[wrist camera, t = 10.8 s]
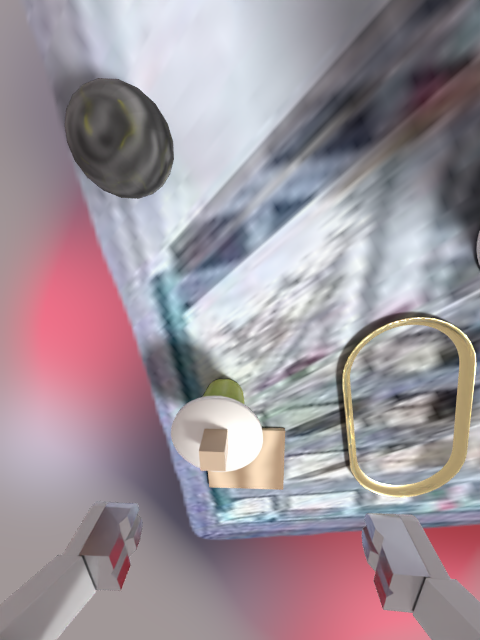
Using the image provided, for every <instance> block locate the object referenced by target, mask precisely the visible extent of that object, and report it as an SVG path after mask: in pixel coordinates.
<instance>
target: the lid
mask: <svg viewBox="0 0 480 640" xmlns="http://www.w3.org/2000/svg"><path fill="white" fill-rule="evenodd" d="M171 437H172V442H173V444H174V446H175V448H176V450H177V451H178V453H179V454H180V455H181V456H182V457H183V458H184V459H185V460H186V461H188V462H189V463H191V464H192V465H194V466H196V467H199V468H200V470H202V471H213V472H228V471H234V470H237V469H240V468H243V467H245V466H246V465H248V464H250V463H251V462H252V461H253V460H254V459H255V458H256V457H257V456H258V454H259V452H260V450H261V448H262V444H263V431H262V426H261V423H260V421H259V419H258V417H257V416H256V415H255V413H254V412H253V411H252V410H251V409H250V408H248V407H247V406H246V405H244V404H243V403H241V402H239V401H237V400H234V399H231V398H228V397H223V396H205V397H200V398H197V399H195V400H192V401H190V402H189V403H187V404H186V405H184V406H183V407H182V408H181V409H180V410H179V412H178V413H177V415H176V417H175V419H174V421H173V424H172V428H171Z"/></svg>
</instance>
